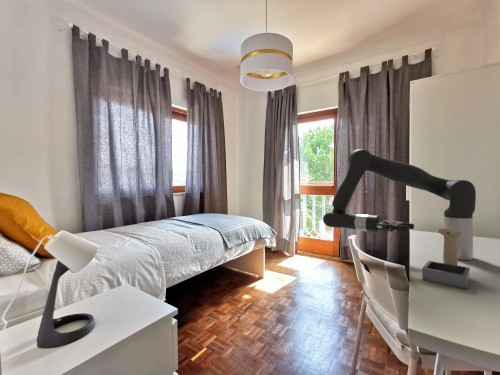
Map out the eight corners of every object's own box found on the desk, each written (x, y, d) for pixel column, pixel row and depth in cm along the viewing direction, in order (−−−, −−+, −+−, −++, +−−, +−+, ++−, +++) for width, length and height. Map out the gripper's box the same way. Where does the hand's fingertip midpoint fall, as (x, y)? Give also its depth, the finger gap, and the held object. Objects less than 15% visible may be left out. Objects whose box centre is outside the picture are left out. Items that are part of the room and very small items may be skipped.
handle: (460, 276, 80) (460, 232, 80) (437, 270, 85) (436, 229, 85) (463, 272, 83) (463, 230, 83) (441, 268, 88) (440, 228, 88)
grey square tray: (429, 271, 85) (428, 260, 85) (469, 279, 77) (469, 267, 77) (422, 280, 77) (422, 267, 77) (467, 290, 69) (466, 276, 69)
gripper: (361, 216, 100) (406, 219, 88) (373, 213, 109) (415, 216, 98) (361, 233, 100) (406, 240, 88) (373, 229, 109) (415, 234, 98)
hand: (411, 227), depth 93 cm, fingers open, 8 cm apart
